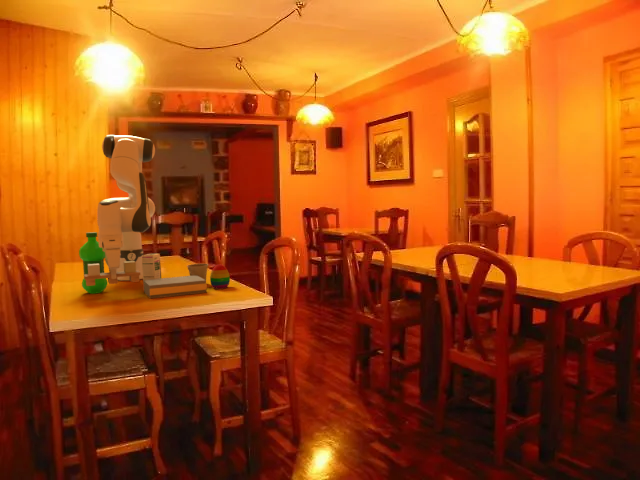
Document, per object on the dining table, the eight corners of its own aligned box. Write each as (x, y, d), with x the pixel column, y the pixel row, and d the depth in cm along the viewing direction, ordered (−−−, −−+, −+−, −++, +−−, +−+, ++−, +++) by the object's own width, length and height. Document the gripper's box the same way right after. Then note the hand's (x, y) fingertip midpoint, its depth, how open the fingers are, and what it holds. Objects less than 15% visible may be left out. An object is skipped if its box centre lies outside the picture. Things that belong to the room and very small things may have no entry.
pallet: (84, 283, 208) (84, 274, 208) (138, 278, 217) (138, 270, 217) (85, 286, 203) (84, 276, 203) (140, 281, 212) (140, 272, 211)
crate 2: (124, 271, 213) (123, 261, 213) (134, 270, 215) (134, 260, 215) (125, 273, 210) (124, 262, 209) (135, 272, 211) (135, 262, 211)
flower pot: (183, 285, 236) (182, 266, 235) (195, 282, 244) (194, 263, 244) (201, 286, 232) (201, 266, 232) (213, 283, 241) (212, 263, 240)
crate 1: (88, 274, 208) (87, 264, 207) (99, 273, 210) (98, 263, 209) (88, 275, 204) (88, 265, 204) (100, 275, 206) (99, 264, 206)
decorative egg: (227, 289, 224) (226, 265, 223) (208, 289, 225) (207, 265, 224) (232, 285, 232) (231, 262, 231) (213, 286, 233) (212, 263, 232)
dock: (144, 292, 223) (143, 280, 222) (197, 286, 232) (196, 275, 232) (150, 298, 208) (149, 285, 207) (206, 292, 217) (206, 280, 217)
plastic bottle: (93, 289, 231) (90, 231, 229) (113, 290, 228) (110, 231, 225) (76, 294, 222) (72, 233, 220) (96, 295, 218) (92, 233, 216)
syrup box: (155, 288, 230) (153, 254, 229) (143, 288, 232) (141, 254, 230) (162, 286, 236) (160, 253, 235) (149, 286, 237) (148, 253, 236)
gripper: (100, 240, 216) (102, 274, 218) (104, 245, 198) (106, 282, 199) (117, 239, 219) (118, 273, 221) (122, 243, 201) (124, 280, 202)
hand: (112, 277), depth 210 cm, fingers closed on pallet, 6 cm apart
